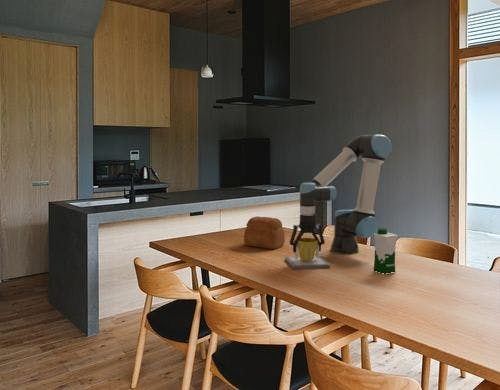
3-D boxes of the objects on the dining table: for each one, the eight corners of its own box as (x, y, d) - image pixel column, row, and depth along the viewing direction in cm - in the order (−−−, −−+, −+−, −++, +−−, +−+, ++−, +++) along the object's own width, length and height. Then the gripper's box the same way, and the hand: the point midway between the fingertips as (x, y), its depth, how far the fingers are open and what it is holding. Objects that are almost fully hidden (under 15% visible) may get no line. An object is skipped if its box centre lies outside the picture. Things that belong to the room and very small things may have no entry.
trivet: (318, 258, 233) (318, 255, 233) (329, 267, 216) (329, 264, 215) (285, 259, 231) (285, 256, 230) (293, 269, 213) (293, 266, 213)
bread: (273, 251, 249) (273, 221, 247) (241, 246, 260) (241, 217, 259) (287, 244, 264) (287, 216, 262) (256, 240, 275) (256, 213, 273)
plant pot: (316, 262, 217) (317, 242, 216) (295, 261, 219) (295, 241, 218) (317, 256, 227) (318, 237, 226) (297, 255, 229) (297, 237, 228)
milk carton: (384, 268, 215) (385, 227, 212) (398, 273, 207) (400, 230, 204) (370, 270, 211) (371, 229, 208) (384, 275, 203) (386, 232, 200)
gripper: (327, 212, 225) (326, 255, 228) (283, 213, 222) (282, 257, 225) (332, 214, 218) (331, 259, 221) (286, 216, 215) (286, 261, 218)
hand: (306, 258), depth 223 cm, fingers closed on plant pot, 10 cm apart
